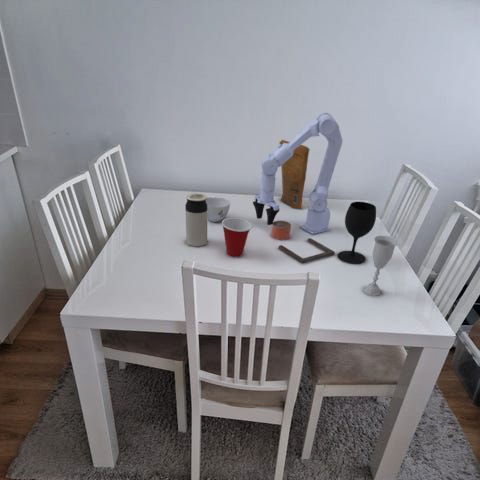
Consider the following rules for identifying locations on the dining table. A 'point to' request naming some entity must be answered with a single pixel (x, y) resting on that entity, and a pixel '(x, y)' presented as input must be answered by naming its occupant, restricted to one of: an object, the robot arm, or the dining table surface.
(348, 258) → the wine glass
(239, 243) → the plastic cup
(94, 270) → the dining table surface
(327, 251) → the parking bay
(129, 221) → the dining table surface
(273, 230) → the tin can
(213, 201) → the teacup
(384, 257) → the chalice
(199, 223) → the travel mug
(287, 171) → the pancake mix bag
